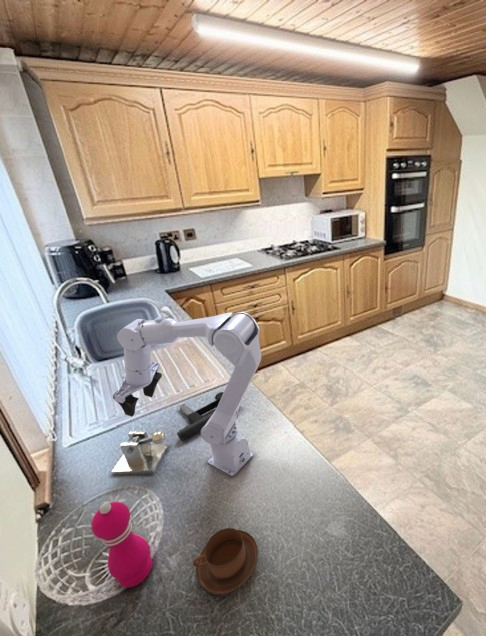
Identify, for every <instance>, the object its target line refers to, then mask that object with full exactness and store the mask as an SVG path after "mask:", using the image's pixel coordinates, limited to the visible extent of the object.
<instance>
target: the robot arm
mask: <svg viewBox="0 0 486 636" xmlns="http://www.w3.org/2000/svg"><path fill="white" fill-rule="evenodd" d="M260 331H261V327H260V326H259V324H258V323H257V321H256V319H255V318H254V317H253V316H252V315H251V314H249V313H247V312H246V311H238V312H235V313H233V312H223V313H221V314H216V315H213V316H205V317H200V318H195V319H190V320H189V319H187V320H184V321H183V320H182V321H177V320H175V319H174V318H171V317H168V318H167V317H166V318H164V316H158V317H156V318H155V319H150V320H147V319H144V318H137V319H134V320H133V321H132V322H130V323H128V324H127V325H125V326H124V327H123V328H121V329H120V330H119V331H118V332H117V334H116V339H117V342H118V343H119V345H120V346H121V347H122V348H123V358H124V373H123V374H122V375H121V378H122V379H123V381H122V383H121V385H120V387H119V389H118V390H117V391H116V392H114V393H113V394H112V399H113V400H114V401H115V402H117V404H118V405H119V406H120V407H121V409H122V411H123V413H124V414H125V416H128V417H131V418H132V417H134V415H135V413H136V405H137V403H138V401H139V400H140V398H139V397H137V396H134V395H133V394H134V393H136V392H138V391H140V390H142V391H143V396H146V397H149V398H153V396H154V394H155V391H156V387H157V385H158V383H159V381H160V380H161V379H162V377H163V374H162V373H161V372H158V371H160V369H161V367H160V366H161V364H160V363H159V362H156V361H152V346H154V345H155V346H156V345H164V344H173V343H175V342H176V341H178V339H179V338H202V337H203V338H206V341H207V342H208V344H209V346H210V347H213V346H214V347H215V349H216V350H217V351H218V352H219V353H220V354H221V355H222V356H223V357H224V358H225V359H226V360H228V361H229V362H230V364H232V365H233V366H234V368H233V370H232V373H231V375H230V377H229V379H228V382H227V384H226V386H225V389H224V390H223V392H224V393H223V395H222V397H221V400H220V402H219V404H218V406H217V408H215V409H214V411H215V412H214V411H213V412H214V413H213V415H212V416H211V417H210V419H209V420H208V422H207V423H206V425H205V426H204V427H203V428H202V429H201V431H200V436H201V438H202V439H203V441H205V443H207V444H208V445H209V446H210V448H211V452H212V456H211V457H210V458H209V459H208V460H207V464H209V465H210V466H213V467H214V468H216V469H218V470H219V471H222V472H224V473H225V474H227V475H229V476H231V477H234V476H235V475H236V474H237V473H238V472H239V471H240V470H241V469H242V468H243V467H244V466H245V464H246V463H247V462H248V461H249V460H250V459H251V458H252V457H253V456H254V454H253V453H252V452H251V451H250V447H249V441H248V440H247V439H246V438H245V437H243V436H242V435H241V434H240V433H239V431H238V429H237V420H238V419H239V416H240V412H239V409H240V405H241V402H242V400H243V398H244V397H245V395H246V392H247V391H248V388H249V386H250V384H251V382H252V380H253V378H254V376H255V373H256V372H257V370H258V367H259V366H260V363H262V362H261V361H262V352H261V345H260Z"/></svg>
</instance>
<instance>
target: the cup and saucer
mask: <svg viewBox="0 0 486 636" xmlns="http://www.w3.org/2000/svg"><path fill="white" fill-rule="evenodd" d="M258 549H259V548H258V545H257V542H256V540H255V538H254V537H253V536H252V535H251V534H250V533H248V532H247V531H245V530H242V529H236V528H233V527H226V528H222V529H220V530H218V531H216V532H215V533H213V534H212V535H211V536H210V537H209V539H208V540H207V542H206V544H205V546H204V547H203V549H202V551H201V552H200V554H199V556H197V557H195V558H194V559H193V560H192V565H193V566H194V568H196V570H195V572H196V573H195V574H196V579H197V581H198V583H199V585H200V586H201V587H202V588H203V589H204V590H205V591H206V592H208V593H210V594H213V595H225V594H229V593H232V592H235V591H236V590H237V589H239V588H241V587H242V586H243V585H244V584H245V583H246V582H247V581H248V580H249V579H250V577H251V576H252V575H253V572H254V571H255V568H256V566H257V563H258V557H259V550H258Z"/></svg>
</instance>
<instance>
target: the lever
mask: <svg viewBox="0 0 486 636" xmlns="http://www.w3.org/2000/svg"><path fill="white" fill-rule="evenodd" d="M165 439H166V435H165V433H164V432H163V431H161V430H157V431H154V432H153V433H152V434H151V436H148V437H147V438H143V439H141V438H140V436H137V437H133V438H129V439H128V441H127V442H126V443H132V442H138V443H139V445H140V447H141V446H142V444H145V443H149V442H150V443H153V444H154V445H160V444H161V443H163V442H164V441H165Z"/></svg>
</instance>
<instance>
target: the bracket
mask: <svg viewBox="0 0 486 636" xmlns="http://www.w3.org/2000/svg"><path fill="white" fill-rule="evenodd" d="M137 436H140V438H141V439H143V438H147V437H149V436H148V434H147V431H146V430H139V431H137V430H135V431H129V432H128V438H129V439H130V438H133V437H137ZM119 447H120V449H121V451H122V456H121V457H120V458H119V460H118V461H117V463H116V465H115V466H114V467H113V469H112V470H111V473H112V475H136V474H137V475H143V474H145V475H146V474H147V475H148V474H155V472H156V471H157V468H158V467H159V465H160V463H161V461H162V460H163V458H164V456H165V454H166V452H167V450H168V448H169V445H168V444H151V442H149V443H145V444H142V446H141V447H140V445H139V443H138V442H132V443H127V442H121V443H120V445H119Z"/></svg>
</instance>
